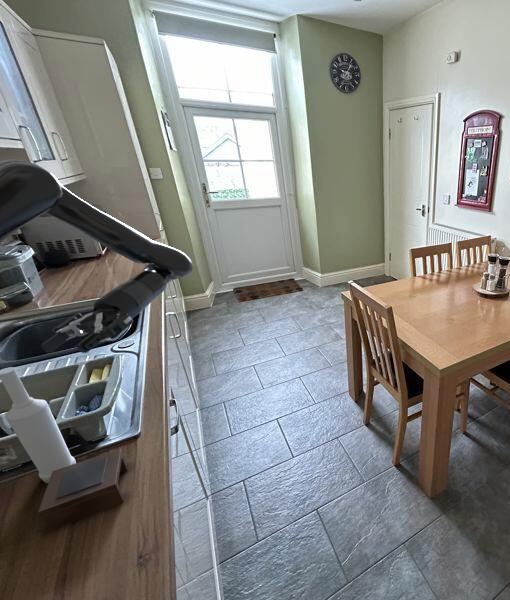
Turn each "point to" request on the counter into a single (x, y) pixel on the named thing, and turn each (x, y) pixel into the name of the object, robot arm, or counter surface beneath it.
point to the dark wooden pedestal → (83, 489)
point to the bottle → (35, 427)
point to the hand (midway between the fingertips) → (62, 349)
